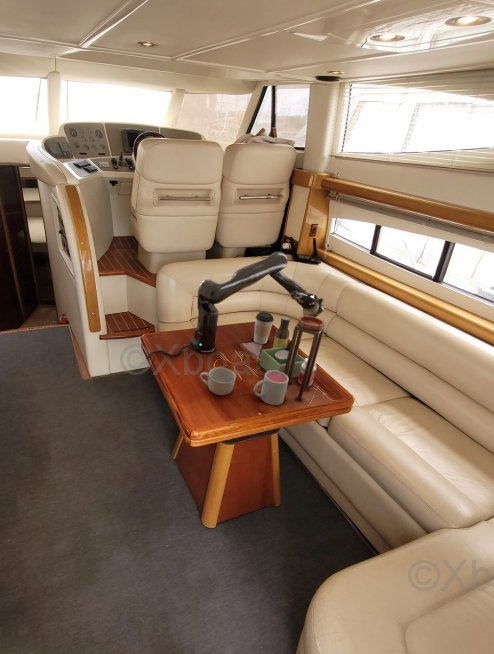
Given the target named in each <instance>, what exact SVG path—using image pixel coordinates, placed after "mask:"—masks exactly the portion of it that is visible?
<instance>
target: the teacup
mask: <svg viewBox="0 0 494 654" xmlns="http://www.w3.org/2000/svg"><path fill="white" fill-rule="evenodd" d="M203 376H206V378H207V379H204V377H203ZM236 379H237V376H236V374H235V372H234V371H233V370H231V369H230V368H226V367H221V366H219V367H214V368H212V369H210V371H208V372H206V371H203V372H201V373H200V374H199V380H200V381H201V382H202V383H204V384H205V385H206V386H207V388H208V389H209V391H210V392H211V393H212V394H214V395H216V396H226V395H228V394H230V393H231V392H232V391H233V389H234V387H235V382H236Z"/></svg>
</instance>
